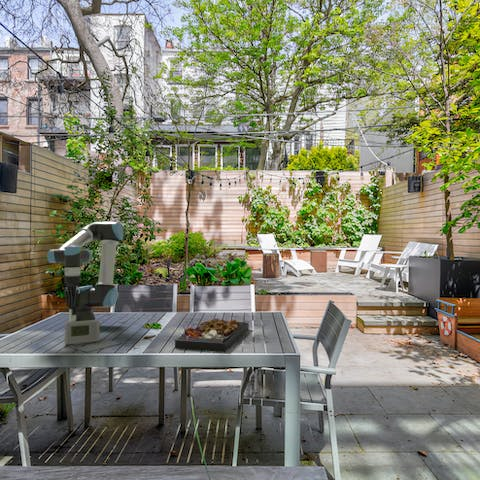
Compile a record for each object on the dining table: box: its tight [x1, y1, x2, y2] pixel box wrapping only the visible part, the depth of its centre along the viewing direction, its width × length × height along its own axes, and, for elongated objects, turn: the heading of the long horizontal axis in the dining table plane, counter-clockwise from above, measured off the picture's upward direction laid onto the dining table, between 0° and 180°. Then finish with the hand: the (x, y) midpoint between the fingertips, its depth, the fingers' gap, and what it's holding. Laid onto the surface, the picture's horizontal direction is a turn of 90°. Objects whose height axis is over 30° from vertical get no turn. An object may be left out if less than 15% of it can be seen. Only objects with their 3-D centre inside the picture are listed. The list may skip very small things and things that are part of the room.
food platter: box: [174, 317, 249, 353], centre depth 191 cm, size 45×25×10 cm, turn 165°
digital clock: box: [64, 319, 101, 346], centre depth 184 cm, size 16×9×11 cm, turn 101°
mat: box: [75, 339, 122, 353], centre depth 177 cm, size 10×18×1 cm, turn 145°
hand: (72, 321), depth 189 cm, fingers closed
